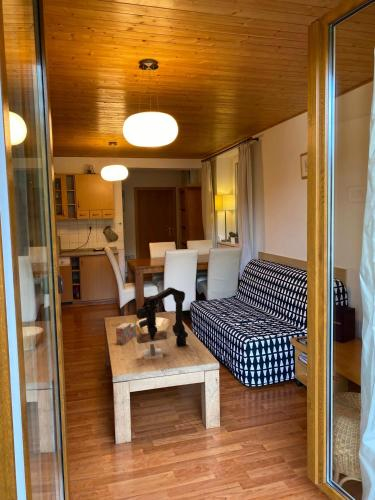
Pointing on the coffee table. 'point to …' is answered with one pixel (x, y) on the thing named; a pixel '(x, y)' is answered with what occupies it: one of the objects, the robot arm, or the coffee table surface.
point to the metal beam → (147, 338)
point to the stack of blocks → (125, 333)
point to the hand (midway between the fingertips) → (151, 338)
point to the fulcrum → (152, 353)
